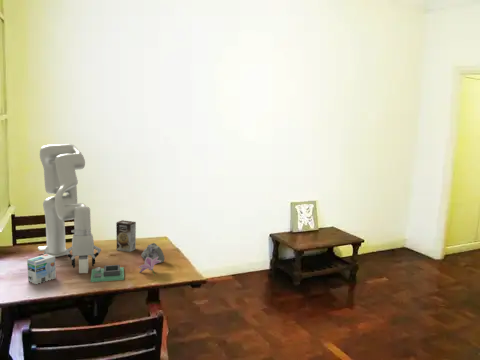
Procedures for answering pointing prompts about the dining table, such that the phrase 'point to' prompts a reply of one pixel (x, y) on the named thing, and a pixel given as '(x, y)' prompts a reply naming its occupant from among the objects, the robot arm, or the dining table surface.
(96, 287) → the dining table surface
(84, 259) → the plug
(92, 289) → the dining table surface
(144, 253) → the mineral rock
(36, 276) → the light bulb box
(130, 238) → the coffee box
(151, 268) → the lily
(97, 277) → the board
